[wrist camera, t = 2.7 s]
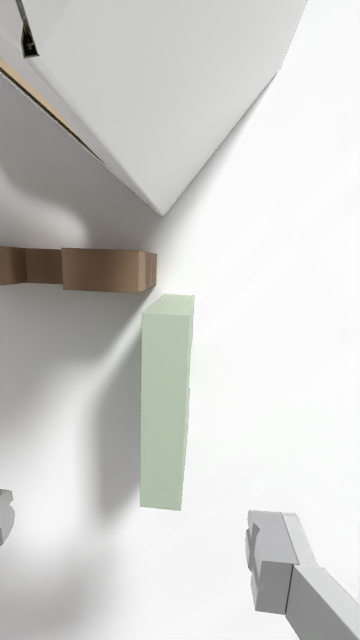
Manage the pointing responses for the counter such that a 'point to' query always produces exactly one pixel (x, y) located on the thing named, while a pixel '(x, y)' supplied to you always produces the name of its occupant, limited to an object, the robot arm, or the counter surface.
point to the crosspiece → (165, 399)
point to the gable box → (146, 77)
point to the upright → (80, 268)
